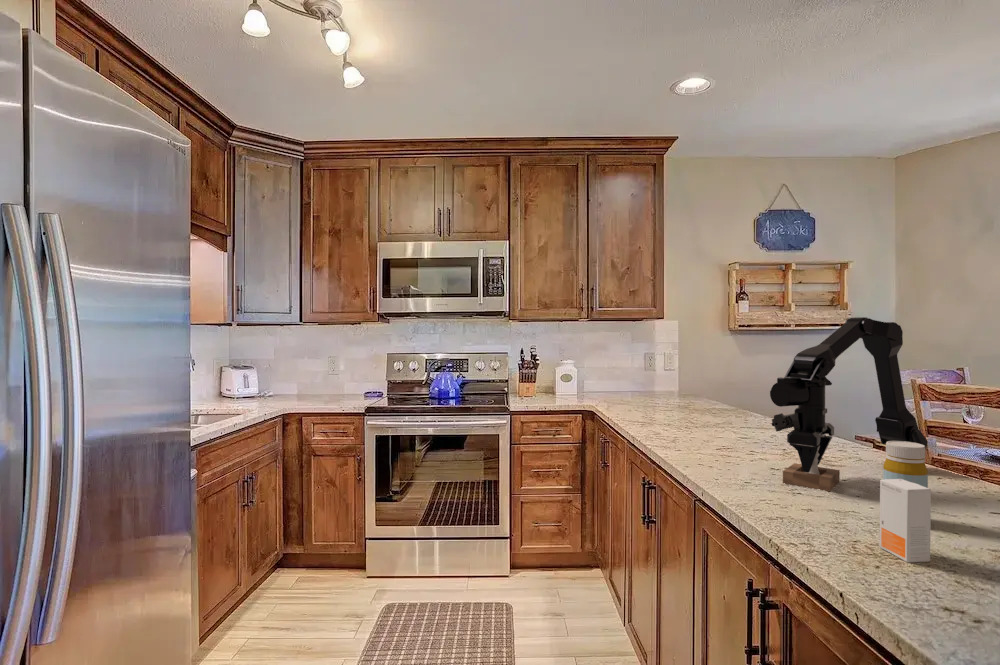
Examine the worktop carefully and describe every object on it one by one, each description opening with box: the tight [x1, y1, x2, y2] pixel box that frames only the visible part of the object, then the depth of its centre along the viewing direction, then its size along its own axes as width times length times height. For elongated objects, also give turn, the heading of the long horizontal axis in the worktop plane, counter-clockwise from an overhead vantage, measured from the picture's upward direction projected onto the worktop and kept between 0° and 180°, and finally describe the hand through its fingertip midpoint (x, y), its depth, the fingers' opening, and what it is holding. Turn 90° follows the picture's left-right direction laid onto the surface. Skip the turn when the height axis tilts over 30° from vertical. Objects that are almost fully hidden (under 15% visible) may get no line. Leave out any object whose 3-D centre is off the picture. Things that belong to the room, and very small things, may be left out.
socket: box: [782, 462, 841, 492], centre depth 132 cm, size 10×10×3 cm
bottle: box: [882, 441, 929, 488], centre depth 107 cm, size 7×7×15 cm
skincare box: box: [878, 478, 932, 564], centre depth 91 cm, size 6×4×12 cm
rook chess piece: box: [806, 453, 820, 475], centre depth 133 cm, size 4×4×8 cm
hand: (811, 468), depth 132 cm, fingers open, 9 cm apart
